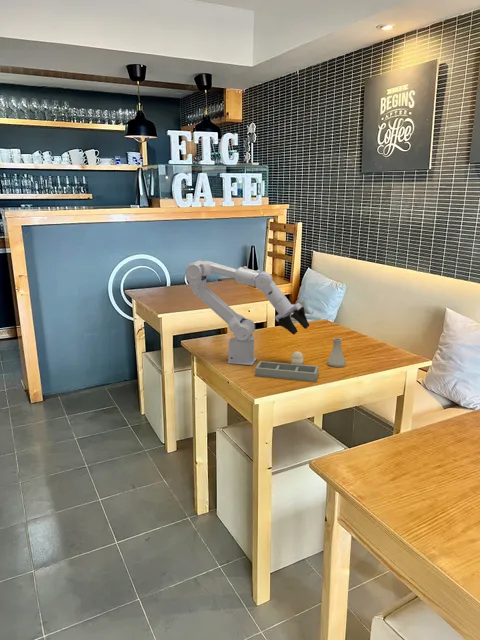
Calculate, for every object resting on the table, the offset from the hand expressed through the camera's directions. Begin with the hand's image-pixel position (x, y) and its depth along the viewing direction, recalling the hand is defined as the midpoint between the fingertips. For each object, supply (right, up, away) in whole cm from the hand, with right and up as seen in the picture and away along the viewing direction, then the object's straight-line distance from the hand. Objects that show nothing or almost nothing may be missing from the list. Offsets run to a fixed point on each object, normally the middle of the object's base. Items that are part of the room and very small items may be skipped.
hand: (301, 330), depth 179 cm
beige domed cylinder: (-1, -13, +4) cm, 14 cm away
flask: (+14, -13, +5) cm, 20 cm away
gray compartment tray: (-6, -16, -6) cm, 18 cm away
